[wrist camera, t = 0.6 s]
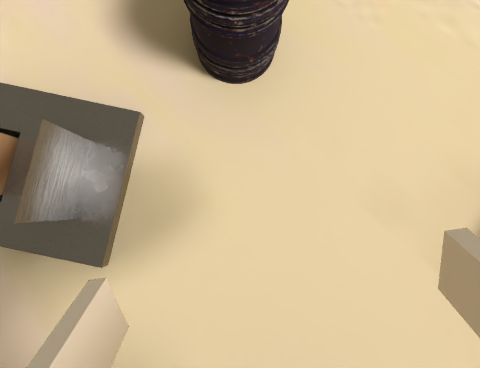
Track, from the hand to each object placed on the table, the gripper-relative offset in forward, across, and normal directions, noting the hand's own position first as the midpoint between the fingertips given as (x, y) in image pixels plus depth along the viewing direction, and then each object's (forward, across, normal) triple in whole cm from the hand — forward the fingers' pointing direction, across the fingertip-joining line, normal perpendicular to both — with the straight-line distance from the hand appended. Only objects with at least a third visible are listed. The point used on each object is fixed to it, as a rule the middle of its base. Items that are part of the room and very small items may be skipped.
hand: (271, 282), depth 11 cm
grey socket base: (+22, +24, 0) cm, 33 cm away
